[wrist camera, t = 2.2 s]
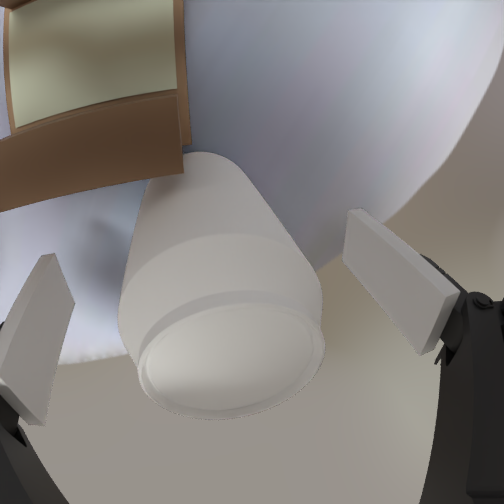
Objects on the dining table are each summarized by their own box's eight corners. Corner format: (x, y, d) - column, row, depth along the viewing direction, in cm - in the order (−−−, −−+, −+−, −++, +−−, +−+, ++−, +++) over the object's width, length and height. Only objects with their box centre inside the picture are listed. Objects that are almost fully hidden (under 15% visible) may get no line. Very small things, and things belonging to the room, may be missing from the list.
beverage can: (124, 214, 17) (80, 397, 7) (186, 125, 15) (207, 217, 5) (208, 263, 20) (248, 439, 10) (271, 188, 18) (386, 334, 8)
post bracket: (15, -21, 7) (-47, -48, 1) (182, -67, 8) (191, -135, 3) (28, 175, 14) (-35, 229, 8) (191, 141, 15) (200, 178, 10)
